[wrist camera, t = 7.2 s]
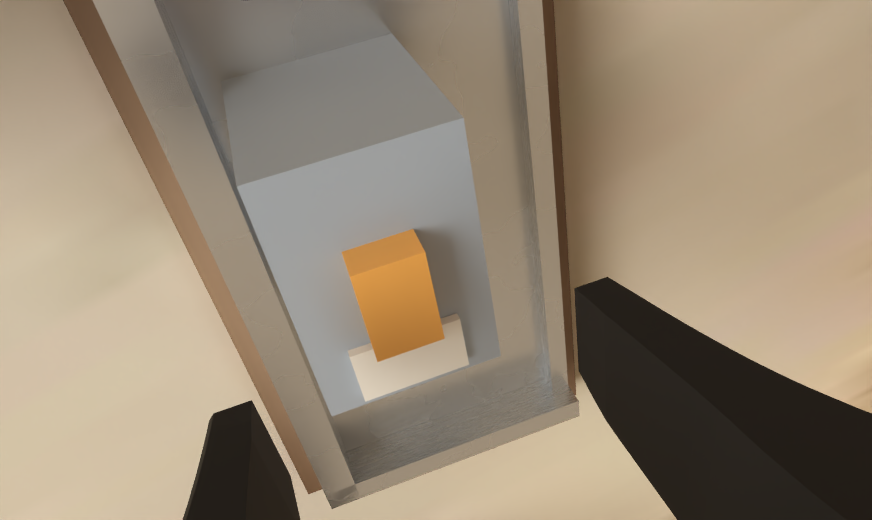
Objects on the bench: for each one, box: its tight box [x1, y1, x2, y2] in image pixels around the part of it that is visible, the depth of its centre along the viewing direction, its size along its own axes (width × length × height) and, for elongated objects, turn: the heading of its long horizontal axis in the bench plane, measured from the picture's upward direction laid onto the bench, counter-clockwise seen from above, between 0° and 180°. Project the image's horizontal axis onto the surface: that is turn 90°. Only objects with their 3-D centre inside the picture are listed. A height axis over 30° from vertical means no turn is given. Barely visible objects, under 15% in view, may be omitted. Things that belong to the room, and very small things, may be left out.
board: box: [63, 0, 576, 494], centre depth 18 cm, size 11×26×1 cm, turn 9°
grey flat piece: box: [93, 0, 579, 509], centre depth 17 cm, size 9×22×2 cm, turn 9°
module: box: [221, 33, 501, 416], centre depth 15 cm, size 4×6×6 cm, turn 9°
